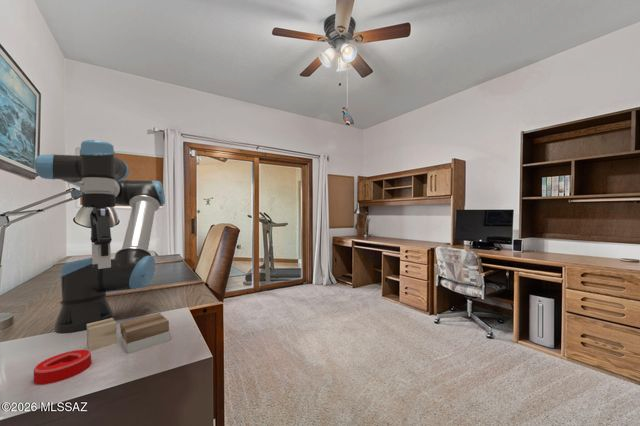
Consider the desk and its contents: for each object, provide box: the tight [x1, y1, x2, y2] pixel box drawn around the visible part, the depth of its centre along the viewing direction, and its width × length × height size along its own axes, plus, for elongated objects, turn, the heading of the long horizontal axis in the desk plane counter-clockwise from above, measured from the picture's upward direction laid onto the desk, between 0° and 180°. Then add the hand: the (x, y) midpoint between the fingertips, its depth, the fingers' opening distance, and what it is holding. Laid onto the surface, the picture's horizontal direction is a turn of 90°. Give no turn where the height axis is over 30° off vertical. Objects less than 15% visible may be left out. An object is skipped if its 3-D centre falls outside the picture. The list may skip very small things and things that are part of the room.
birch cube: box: [86, 317, 118, 352], centre depth 75 cm, size 6×6×6 cm
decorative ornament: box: [33, 349, 92, 386], centre depth 61 cm, size 10×10×3 cm
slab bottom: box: [120, 330, 171, 355], centre depth 75 cm, size 10×10×3 cm
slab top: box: [120, 312, 170, 344], centre depth 76 cm, size 10×10×3 cm
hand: (101, 265), depth 76 cm, fingers open, 13 cm apart
